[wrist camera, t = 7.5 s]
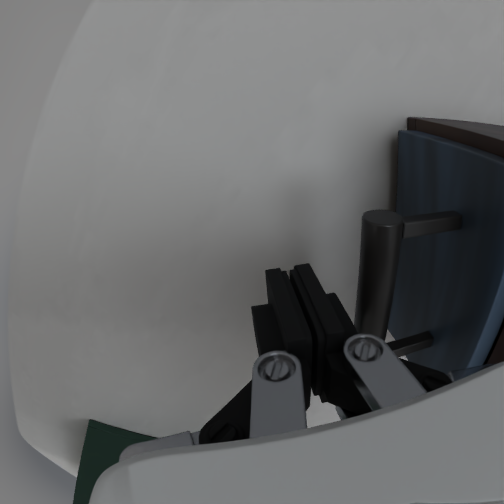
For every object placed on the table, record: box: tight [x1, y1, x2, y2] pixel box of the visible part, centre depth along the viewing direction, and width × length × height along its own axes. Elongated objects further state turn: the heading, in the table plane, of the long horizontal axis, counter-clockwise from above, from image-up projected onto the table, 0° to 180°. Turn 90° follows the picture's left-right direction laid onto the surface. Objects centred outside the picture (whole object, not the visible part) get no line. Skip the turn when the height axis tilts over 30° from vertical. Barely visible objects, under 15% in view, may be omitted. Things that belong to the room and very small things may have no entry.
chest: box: [73, 420, 158, 504], centre depth 22 cm, size 16×13×9 cm
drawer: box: [354, 130, 504, 375], centre depth 13 cm, size 18×11×8 cm, turn 96°
